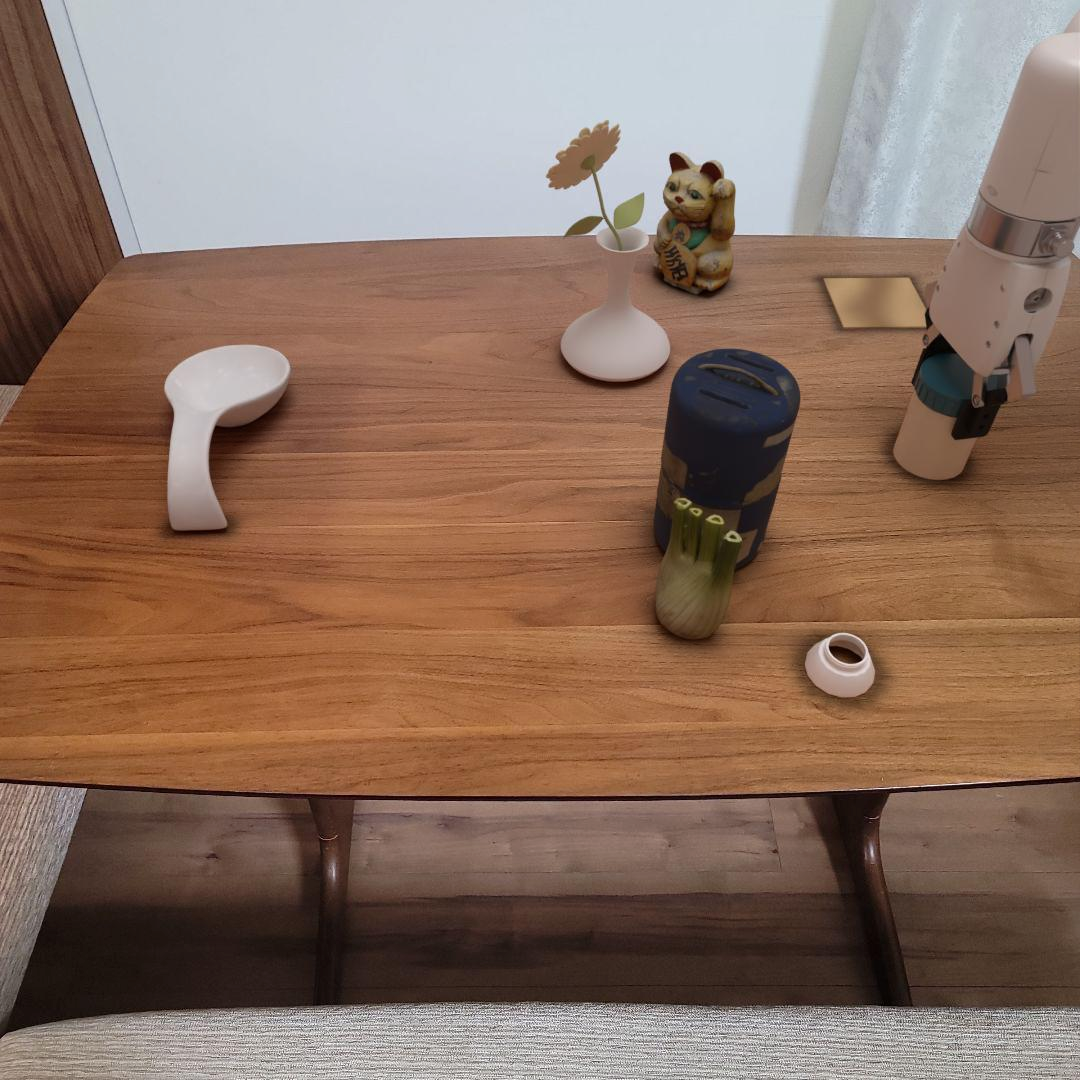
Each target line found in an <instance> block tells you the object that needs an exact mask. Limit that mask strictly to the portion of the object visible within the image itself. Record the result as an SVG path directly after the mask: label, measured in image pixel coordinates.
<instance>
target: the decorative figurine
mask: <svg viewBox="0 0 1080 1080" xmlns="http://www.w3.org/2000/svg"><path fill="white" fill-rule="evenodd" d="M668 161H669V167H670V170H671V174H670V175H669V176H668V178H667V180H666V182H665V185H664V189H663V190H662V199H663V203H664V205H665V206H666V208H667V210H666V212H665V213H663V215H662V217H661V219H659V221H658V223H657V226H656V235H655V238H654V240H653V245H652V246H653V250H654V252H655V253H656V255H657V256H656V257H655V258H654V261H653V262H652V263H653V265H652V266H653V270H655V271H656V272H658V273H661V274H663V276H664V277H663V281H664V282H666V283H669V284H670V285H671V286H673V287H676V288H680V289H682V290H685V291H687V292H689V293H692V294H694V295H699V294H700V293H702V292H703V291H704V290H705V291H707V290H708V291H709V292H713V291H715V290H718V289H719V288H721V287H723V285H725V284H726V283H727V282H728V281H729V278H730V275H731V272H732V270H733V267H734V259H735V257H734V253H733V250H732V243H731V238H732V237H733V236H734V233H735V230H736V218H735V207H736V205H735V204H736V193H737V190H736V184H735V183H734V181H733V180H731V179H729V178H725V170H724V166H723V165H722V163H721V162H720V161H718V160H716V159H710V160H707V161H705V162H704V163H702V164H695V162H693V160H692V159H691V158H690V157H689V156H688V155H686V154H685V153H683V152H680V151H673V152H671V153H670V154H669V157H668Z"/></svg>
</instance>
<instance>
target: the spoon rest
mask: <svg viewBox="0 0 1080 1080" xmlns="http://www.w3.org/2000/svg"><path fill="white" fill-rule="evenodd" d="M291 372H292V369H291V364H290V361H289V360H288V358H287V357H286V355H284V354H283V353H282V352H280V351H278V350H277V349H274V348H272V347H268V346H264V345H257V344H234V345H233V344H232V345H223V346H218V347H213V348H210V349H205V350H203V351H200V352H198V353H195V354H193V355H191V356H189V357H187V358H185V359H184V360H183V361H181V362H180V363H178V364H177V365H176V366H175V367H174V368H172V370H171V372H169V374H168V375H167V377H166V379H165V382H164V385H163V386H164V387H163V392H164V395H165V396H166V399H167V401H168V402H169V404H170V405H171V407H172V409H173V423H172V428H171V435H170V441H169V443H170V444H169V451H168V452H169V453H168V462H167V463H168V464H167V466H168V467H167V485H166V487H167V489H166V490H167V491H166V492H167V497H166V500H167V512H168V519H169V523H170V526H171V529H173V530H175V531H209V530H221V529H226V528H227V527H228V521H227V519H226V516H225V514H224V512H223V510H222V507H221V504H220V502H219V500H218V498H217V495H216V492H215V489H214V486H213V484H212V483H213V482H212V479H211V474H210V450H211V449H210V448H211V441H212V437H213V433H214V430H215V427H216V426H217V427H222V428H236V427H241V426H245V425H248V424H251V423H252V422H254V421H256V420H258V419H259V418H260V417H262V416H263V415H265V414H266V413H267V412H269V411H270V410H271V409H272V408H273V407H274V406H275V405H276V404H277V403H278V402H279V401H280V399H281V398H282V396H283V395H284V393H285V392H286V390H287V387H288V386H289V385H288V384H289V381H290V377H291Z"/></svg>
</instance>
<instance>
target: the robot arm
mask: <svg viewBox="0 0 1080 1080" xmlns="http://www.w3.org/2000/svg"><path fill="white" fill-rule="evenodd" d="M986 165H987V166H986V168H985V171H984V174H983V177H982V178H981V182H980V185H979V188H978V190H977V193H976V196H975V199H974V201H973V205H972V207H971V210H970V213H969V215H968V217H967V219H966V221H965V223H964V224H963V226H962V227H961V229H960V231H959V233H958V235H957V237H956V239H955V240H954V243H953V245H952V247H951V249H950V251H949V254H948V255H947V257H946V259H945V262H944V264H943V267H942V268H941V269H942V270H941V272H940V274H939V277H938V279H937V280H935V281H933V282H930V283H927V284H926V285H925V287H924V294H925V308H926V312H925V320H926V328H925V329H926V331H925V332H924V333H923V334H922V337H921V343H922V345H923V346H924V347H923V348H922V350H921V354H920V356H919V359H918V362H917V365H916V367H915V370H914V373H913V376H912V378H911V382H910V383H911V385H912V386H913V387H914V388H915V384H914V382H915V380H916V377H917V374H918V372H919V370H920V367H921V366H922V364H923V362H924V361H925V360H926V359H928V358H930V357H932V356H934V355H938V354H946V353H954V354H959V355H960V356H961V358H962V359H963V360H964V361H965V362H966V363H967V364H968V365H969V366H970V367H971V368H972V369H973V370H974V375H973V387H972V398H971V399H967V400H965V401H964V403H963V405H962V408H961V410H960V412H959V415H958V417H957V420H956V422H955V424H954V427H953V429H952V432H951V436H952V437H953V439H954V440H962V439H970V438H977V439H978V438H984V437H986V436H988V435H989V433H990V430H991V429H992V427H993V424H994V423H995V420H996V417H997V415H998V413H999V411H1000V408H1001V407H1002V405H1008V404H1010V403H1016V402H1019V401H1022V400H1025V399H1029V398H1032V397H1034V396H1036V394H1037V383H1036V375H1035V369H1036V368H1037V366H1038V364H1039V362H1040V361H1041V358H1042V356H1043V353H1044V351H1045V349H1046V347H1047V344H1048V342H1049V340H1050V337H1051V334H1052V332H1053V329H1054V327H1055V323H1056V321H1057V318H1058V316H1059V313H1060V310H1061V307H1062V304H1063V300H1064V297H1065V293H1066V291H1067V286H1068V281H1069V277H1070V272H1071V266H1072V259H1071V258H1070V256H1069V255H1070V254H1071V253H1072V252H1073V251H1074V249H1075V242H1074V241H1075V238H1076V236H1077V234H1078V232H1079V230H1080V9H1078V11H1077V12H1076V13H1075V14H1074V16H1073V17H1072V19H1071V20H1070V21H1069V23H1068V24H1067V25H1066V27H1065V29H1064V30H1063V32H1062V33H1057V34H1053V35H1050V36H1048V37H1046V38H1044V39H1042V40H1040V41H1039V42H1038V43H1037V44H1036V45H1035V46H1034V47H1033V48H1032V49H1031V50H1030V51H1029V53H1028V54H1027V56H1026V58H1025V60H1024V62H1023V65H1022V68H1021V70H1020V72H1019V76H1018V78H1017V81H1016V84H1015V87H1014V90H1013V92H1012V96H1011V98H1010V101H1009V103H1008V106H1007V109H1006V112H1005V114H1004V117H1003V121H1002V123H1001V126H1000V129H999V132H998V134H997V138H996V140H995V143H994V146H993V149H992V151H991V154H990V157H989V160H988V163H987V164H986ZM997 375H998V380H997V389H994V390H989V391H987V384H988V377H989V376H997Z"/></svg>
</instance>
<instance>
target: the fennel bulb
mask: <svg viewBox="0 0 1080 1080" xmlns="http://www.w3.org/2000/svg"><path fill="white" fill-rule="evenodd" d="M702 516H703V511H702V510H701V509H699V508H692V502H691V501H689V500H688V499H686V498H677V499H676V500H675V501H674V502H673V518H672V528H671V536H670V542H669V545H668V548H667V551H666V552H665V554H664V555H663V558H662V560H661V562H660V566H659V570H658V574H657V578H656V582H655V592H654V593H655V614H656V616H657V620H658V621H659V623H660V624H661V625H662V626H663V627H664V628H665V629H666V630H667V631H669V632H670V633H672V634H673V635H674V636H677V637H680V638H682V639H687V640H693V641H694V640H701V639H706V638H709V637H710V636H711V635H712V634H713V633H714V632H715V631H717V630H718V629H719V628H720V625H721V624H722V623H723V621H724V618H725V617H726V614H727V611H728V608H729V604H730V602H731V598H732V590H733V580H734V576H735V575H734V574H735V570H736V569H735V565H736V561H737V558H738V554H739V551H740V548H741V545H742V538H741V537H740V536H739V534H738V533H737V532H735V531H732V530H731V531H730V532H728V533H727V534H726V536H725V537H724V538H723V541H722V544H721V546H720V542H721V538H722V533H723V527H724V521H723V519H722V517H720V516H718V515H714V514H713V515H712V516H710V517H709V518H707V519H705V524H704V529H703V534H702V522H703V519H702ZM701 541H702V543H701Z"/></svg>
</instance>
